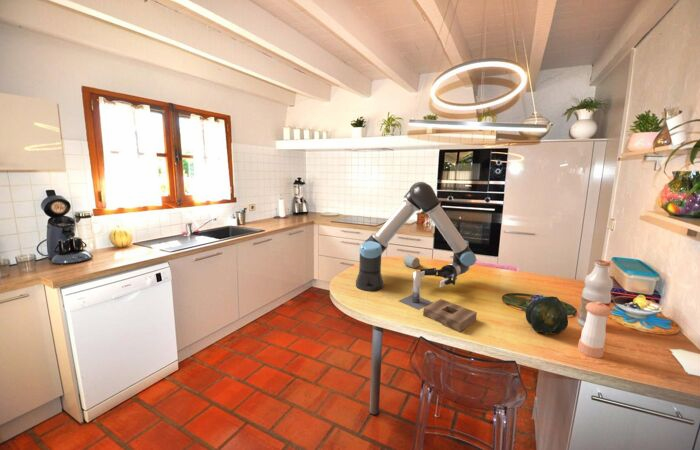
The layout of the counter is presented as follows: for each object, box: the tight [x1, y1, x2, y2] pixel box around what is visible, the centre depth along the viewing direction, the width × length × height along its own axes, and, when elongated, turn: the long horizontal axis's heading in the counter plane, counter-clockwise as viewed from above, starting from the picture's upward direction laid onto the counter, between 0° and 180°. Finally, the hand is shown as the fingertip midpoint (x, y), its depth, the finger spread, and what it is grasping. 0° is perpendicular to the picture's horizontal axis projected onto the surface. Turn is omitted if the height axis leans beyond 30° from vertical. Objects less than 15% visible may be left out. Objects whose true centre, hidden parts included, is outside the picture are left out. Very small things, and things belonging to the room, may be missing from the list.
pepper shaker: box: [577, 302, 612, 359], centre depth 107 cm, size 7×7×19 cm
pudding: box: [531, 294, 546, 302], centre depth 144 cm, size 12×12×5 cm
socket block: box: [422, 298, 478, 333], centre depth 131 cm, size 17×14×4 cm
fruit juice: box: [577, 259, 614, 328], centre depth 125 cm, size 9×9×28 cm
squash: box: [524, 296, 569, 335], centre depth 122 cm, size 14×15×15 cm
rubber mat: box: [398, 294, 434, 311], centre depth 146 cm, size 12×12×1 cm
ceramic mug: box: [403, 253, 421, 269], centre depth 199 cm, size 11×8×8 cm
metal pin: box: [411, 270, 422, 303], centre depth 145 cm, size 4×4×15 cm
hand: (428, 280), depth 151 cm, fingers open, 13 cm apart
